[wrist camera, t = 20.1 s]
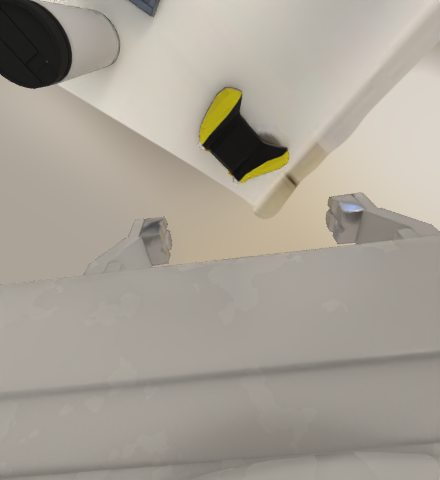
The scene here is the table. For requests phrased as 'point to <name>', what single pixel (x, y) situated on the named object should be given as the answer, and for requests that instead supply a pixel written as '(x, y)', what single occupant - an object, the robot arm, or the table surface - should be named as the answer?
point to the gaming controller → (237, 140)
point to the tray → (147, 5)
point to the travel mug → (53, 42)
